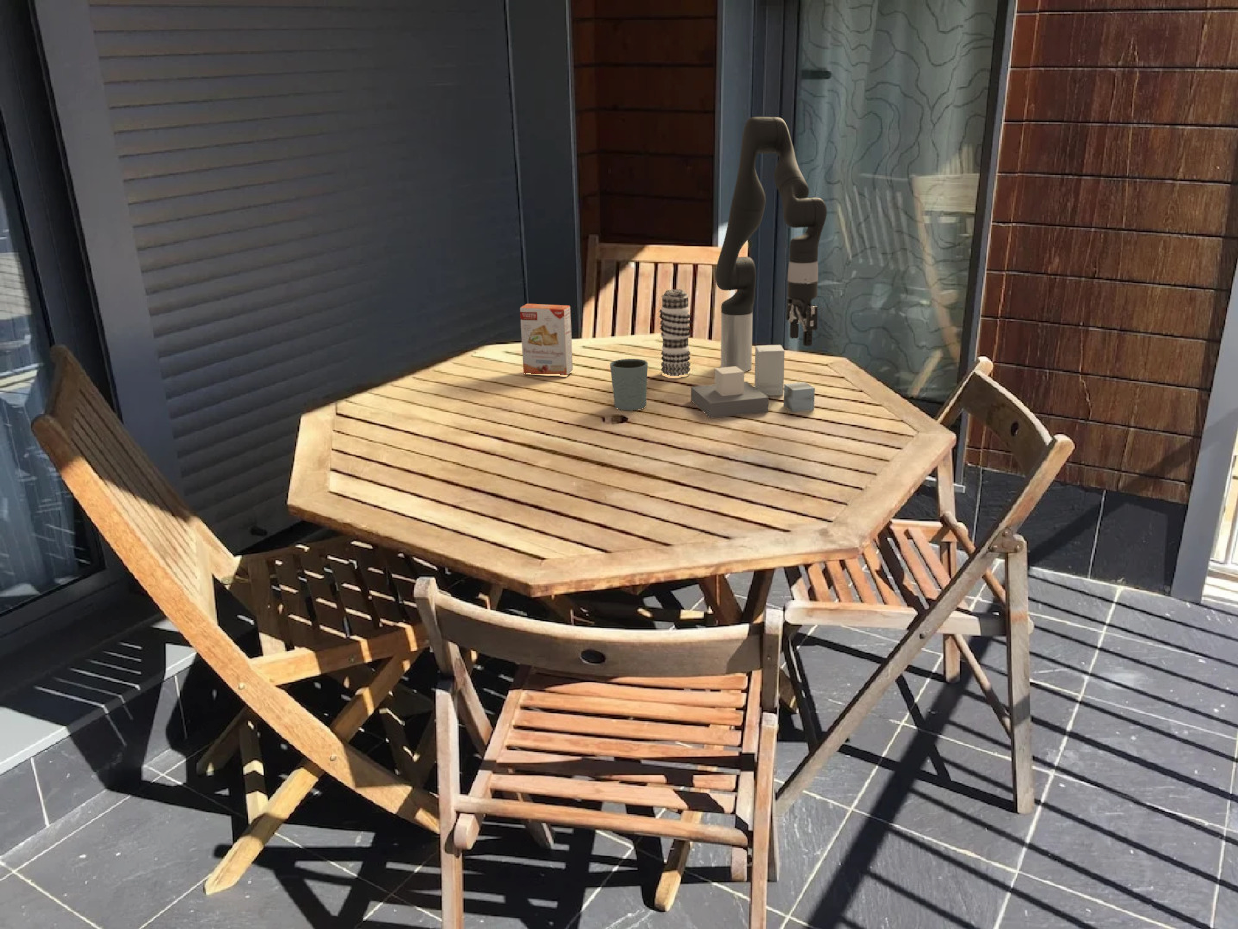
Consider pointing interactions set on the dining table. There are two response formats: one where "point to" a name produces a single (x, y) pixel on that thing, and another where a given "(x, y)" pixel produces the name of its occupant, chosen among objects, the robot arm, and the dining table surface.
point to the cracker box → (546, 339)
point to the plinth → (729, 401)
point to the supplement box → (769, 369)
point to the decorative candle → (675, 332)
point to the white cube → (729, 381)
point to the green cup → (629, 383)
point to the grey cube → (799, 397)
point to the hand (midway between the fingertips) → (800, 341)
